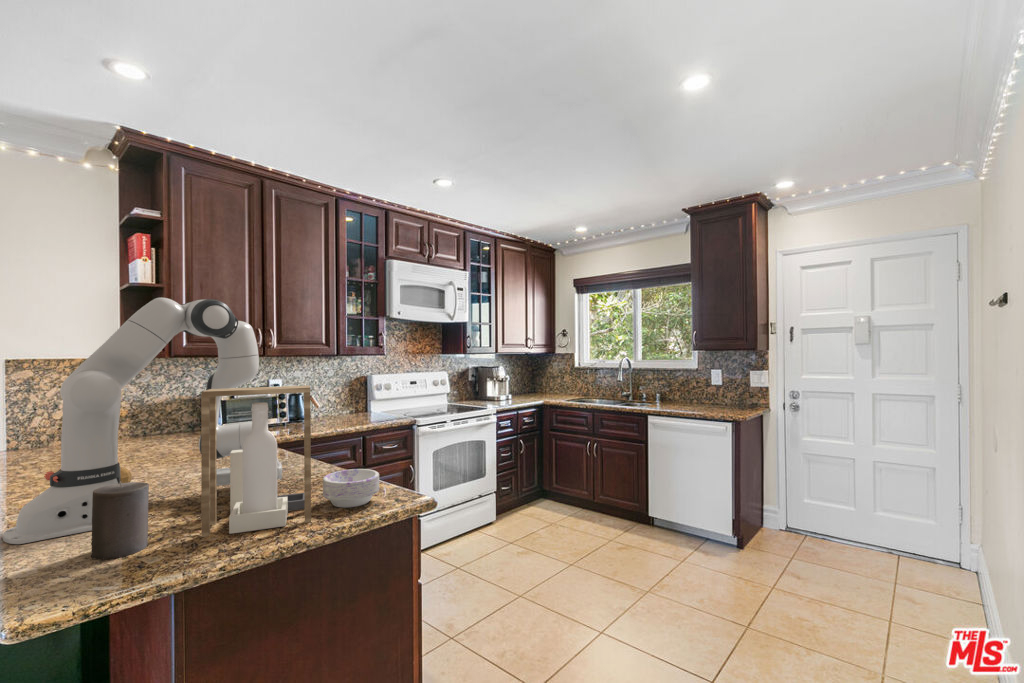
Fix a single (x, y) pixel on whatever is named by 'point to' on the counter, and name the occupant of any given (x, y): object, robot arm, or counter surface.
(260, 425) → the bottle
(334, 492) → the paper bowls
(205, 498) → the oak shelf bridge
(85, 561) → the counter surface
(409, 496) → the counter surface
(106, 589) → the counter surface
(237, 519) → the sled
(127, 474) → the potato
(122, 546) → the pillar candle
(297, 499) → the tray
